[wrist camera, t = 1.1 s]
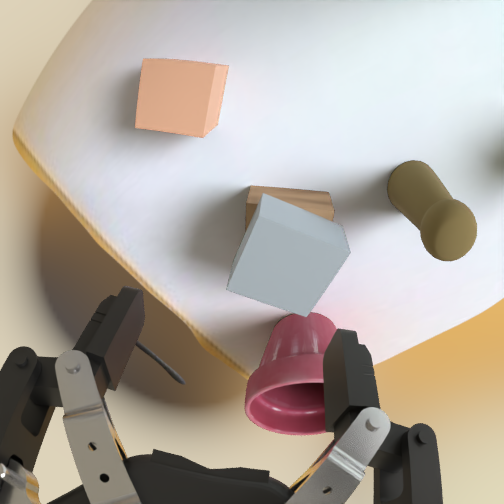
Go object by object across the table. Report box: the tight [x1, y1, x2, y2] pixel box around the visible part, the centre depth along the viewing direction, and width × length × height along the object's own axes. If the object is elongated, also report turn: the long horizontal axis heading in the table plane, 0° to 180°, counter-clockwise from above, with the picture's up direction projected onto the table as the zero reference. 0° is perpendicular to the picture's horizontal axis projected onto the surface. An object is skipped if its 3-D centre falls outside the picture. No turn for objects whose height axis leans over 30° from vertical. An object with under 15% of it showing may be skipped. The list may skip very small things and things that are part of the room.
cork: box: [387, 160, 477, 261], centre depth 25 cm, size 6×6×11 cm
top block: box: [226, 193, 351, 317], centre depth 28 cm, size 8×8×4 cm
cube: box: [135, 59, 229, 138], centre depth 24 cm, size 6×6×6 cm
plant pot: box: [245, 312, 337, 435], centre depth 38 cm, size 14×14×13 cm
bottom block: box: [245, 186, 335, 233], centre depth 32 cm, size 8×8×4 cm
